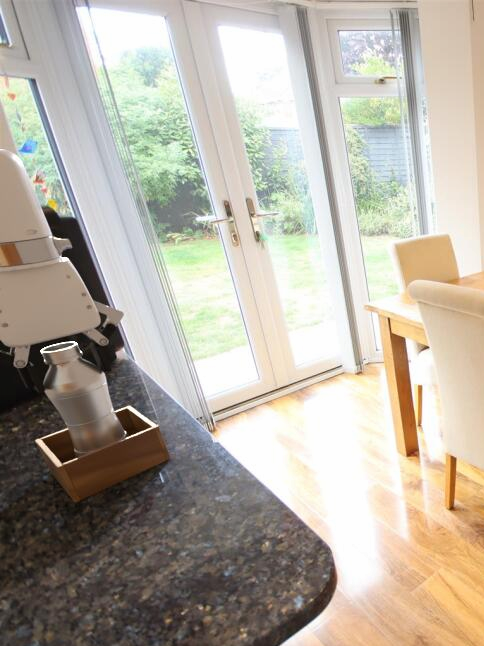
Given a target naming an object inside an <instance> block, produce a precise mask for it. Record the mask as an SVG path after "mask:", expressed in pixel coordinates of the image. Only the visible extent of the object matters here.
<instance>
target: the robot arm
mask: <svg viewBox="0 0 484 646" xmlns="http://www.w3.org/2000/svg"><path fill="white" fill-rule="evenodd" d="M72 245H73V244H72V242H71V241H70V239H69V238H60V237H59V238H58V237H56V236H55V235H53V233H52V231H51V228H50V225H49V223H48V220H47V218H46V216H45V212H44V211H43V208H42V206H41V203H40V201H39V199H38V196H37V193H36V192H35V188H34V186H33V184H32V181H31V179H30V177H29V174H28V172H27V169H26V167H25V165H24V163H23V161H22V159H21V158H20V157H19V156H18V155H17V154H16V153H14V152H12V151H11V150H7V149H3V148H0V341H1V343H3V345H4V346H6V347H8V348H10V349H9V352H8V351H4V350H2V349H0V363H2V364H5V365H9V366H12V367H15V368H16V370H17V372H18V374H19V376H20V378H21V380H22V383H23V384H24V386H25V388H26V389H32V388H33V389H34V390H35V391H36V392H37V393H38V394H42V393H45V391H46V389H45V387H44V385H43V380H42V379H41V377H40V374H39V373H38V370H37V368H36V366H35V364H33V363H32V362H31V361H30V360H29V355H30V351H31V350H30V349H31V346H32V345H36V344H41V343H44V342H49V341H52V340H53V341H54V340H56V339H61V338H65V337H69V336H73V335H76V334H80V333H82V334H83V335H85V336H86V337H87V338H88V339H90V344H89V348H90V351H91V353H92V355H93V358H94V360H95V362H96V366H98V367H99V368H100V369H101V370H102V371H103V372H104V373H110V372H112V368H111V364H114V360H113V358H112V355H111V353H110V350H109V348H108V344H109V340H110V339H111V338H112V336H113V334H114V333H115V332H116V330H117V327H118V325H119V324H120V322H121V321H122V320H123V318H124V316H125V313H124V312H123V311H122V310H119V309H116V308H114V307H111V306H109V305H106V304H103V303H101V302H99V301H96V300H94V299H93V298H92V296H91V294H90V292H89V290H88V288H87V285H85V282H84V281H83V279H82V277H81V275H80V274H79V271H78V270H77V269H76V267H75V266H74V264H73V263H72V261H71V260H70V259H69V258H68V257H65V256H64V257H62V256H63V253H64V252H63V251H66V250H69V249H73V246H72ZM100 313H101V314H103V315H106V319H105V320H104V322H103V323H102V324H101V316H100ZM100 324H101V326H100ZM99 326H100V327H99ZM97 327H99V328H98V329H96V328H97Z"/></svg>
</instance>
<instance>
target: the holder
mask: <svg viewBox="0 0 484 646" xmlns="http://www.w3.org/2000/svg"><path fill="white" fill-rule="evenodd" d="M114 412H115V414H116V416H117V418H118V420H119V422H120V423H121V425H122V427H123V429H124V431H125V432H126V433H127V434H128V435H129V437H127V438H125V439H122V440H120V441H117V442H115V443H112V444H110V445H107V446H105V447H102V448H100V449H97V450H95V451H92V452H90V453H87V454H85V455H83V456H80V457H78V458H75V453H74V445H73V442H72V439H71V436H70V433H69V430H68V427H67V428H65V429H61V430H59V431H56V432H53V433H51V434H48V435H45V436H43V437H40V438H37V439H34V442H35V444H36V446H37V449H38V450H39V452H40V454H41V456H42V458H43V460H44V462H45V464H46V466H47V468H48V470H49V472H50V474H51V475H52V476H53V477H54V479H55V480H56V481H57V482H58V484H59V485H60V486H61V487H62V489H63V490H64V491H65V493H66V494H67V495H68V496H69V498H71V500H72V501H73V503H74V504H75V503H76V504H77V503H78V502H80V501H82V500H85V499H86V498H87V499H88V498H89V497H91V496H94V495H95V494H98V493H100V492H102V491H105V490H106V489H108V488H111V487H113V486H115V485H117V484H120V483H122V482H123V481H126V480H128V479H131V478H132V477H135V476H137V475H140V474H141V473H143V472H146V471H147V470H149V469H152V468H154V467H156V466H158V465H161V464H163V463H165V462H166V461H169V460H172V459H171V456H170V453H169V451H168V448H167V445H166V442H165V439H164V437H163V435H162V431H161V429H160V427H159V425H158V424H156V423H155V422H153V421H152V420H150V419H149V418H148V417H146V416H145V415H144V414H142V413H141V412H139V411H138V410H136V409H135V408H134V407H132V406H131V405H128V406H125V407H122V408H119V409H117V410H114Z"/></svg>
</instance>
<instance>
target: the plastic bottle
mask: <svg viewBox="0 0 484 646" xmlns="http://www.w3.org/2000/svg"><path fill="white" fill-rule="evenodd" d="M40 353H41V356H42V357H43V363H44V364H45V365H48V366H49V367H48V369H47V372H46V373H45V376H44V379H43V381H42V383H43V385H44V387H45V389H46V391H44V393H45V395H46V396H47V398H48V399H49V401H50V402H51V404H52V405H53V406H54V408H55V409H56V410H57V411H58V413H59V415H60V417H61V419H62V421H63V422H64V423H65V425H66V427H67V428H68V430H69V433H70V436H71V439H72V442H73V445H74V453H75V458H78V457H80V456H83V455H85V454H87V453H90V452H92V451H95V450H97V449H100V448H102V447H105V446H107V445H110V444H112V443H115V442H117V441H120V440H122V439H125V438H127V437H129V435H128V434H127V433H126V432H125V431H124V429H123V427H122V425H121V423H120V422H119V420H118V418H117V416H116V414H115V412H114V411H115V408H114V407H113V402H112V400H111V397H110V392H109V387H108V382H107V377H106V374H105V373H106V372H104V371H102V370H101V369H100V368H99V367H98V365H97V364H94V363H92V362H90V361H89V360H86V359H85V358H83V355H84V354H83V351H82V350H80V347H79V344H78V343H77V342H75V341H65V342H60V343H56V344H52V345H49V346H46V347H44V348H42V349H41V350H40Z"/></svg>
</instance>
